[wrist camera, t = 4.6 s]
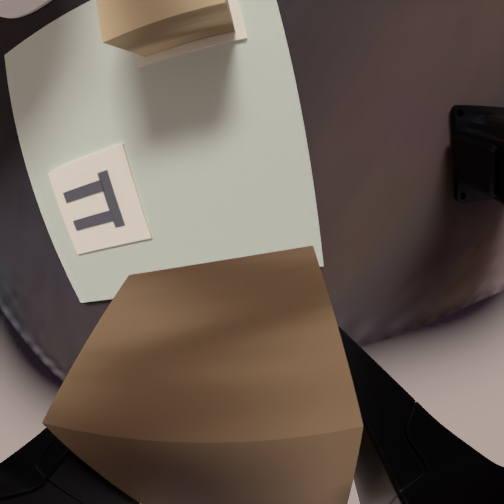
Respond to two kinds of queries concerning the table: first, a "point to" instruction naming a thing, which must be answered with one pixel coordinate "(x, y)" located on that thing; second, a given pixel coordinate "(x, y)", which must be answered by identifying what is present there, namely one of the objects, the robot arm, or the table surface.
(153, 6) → the oak block
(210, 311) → the walnut block
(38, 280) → the table surface
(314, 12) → the table surface
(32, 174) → the board
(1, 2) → the white rounded piece
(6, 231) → the table surface
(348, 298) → the table surface
